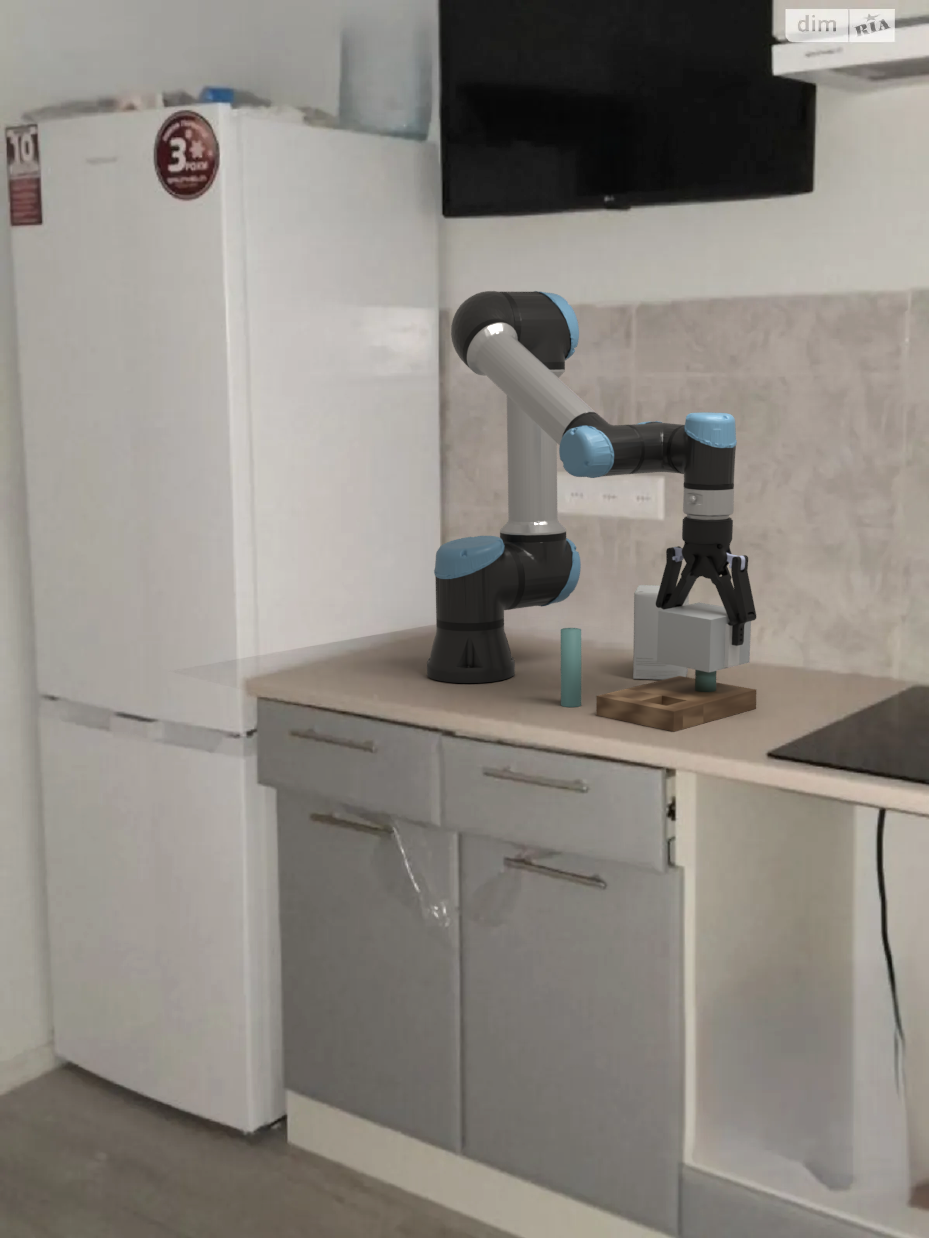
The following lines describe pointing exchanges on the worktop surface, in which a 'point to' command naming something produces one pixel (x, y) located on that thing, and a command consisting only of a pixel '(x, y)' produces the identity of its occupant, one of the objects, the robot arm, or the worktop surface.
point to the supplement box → (650, 637)
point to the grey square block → (697, 637)
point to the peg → (571, 667)
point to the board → (677, 702)
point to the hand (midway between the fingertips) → (703, 660)
